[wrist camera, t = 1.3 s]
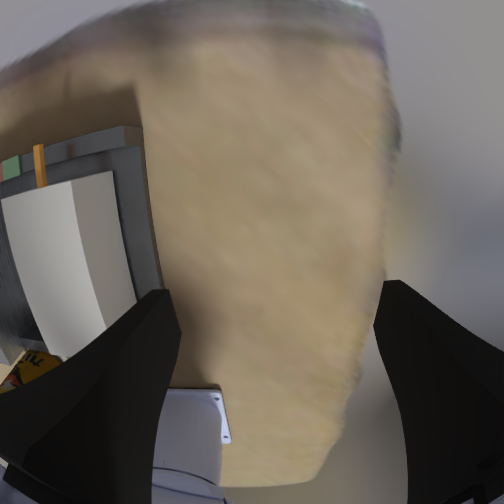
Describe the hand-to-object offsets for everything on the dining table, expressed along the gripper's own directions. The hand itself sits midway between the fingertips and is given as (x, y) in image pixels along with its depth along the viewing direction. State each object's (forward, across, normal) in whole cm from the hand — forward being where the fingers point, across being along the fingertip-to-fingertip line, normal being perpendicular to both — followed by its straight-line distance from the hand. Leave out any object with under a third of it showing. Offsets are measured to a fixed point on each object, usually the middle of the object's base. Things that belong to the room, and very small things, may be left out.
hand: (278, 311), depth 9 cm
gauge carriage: (+8, +13, +1) cm, 15 cm away
